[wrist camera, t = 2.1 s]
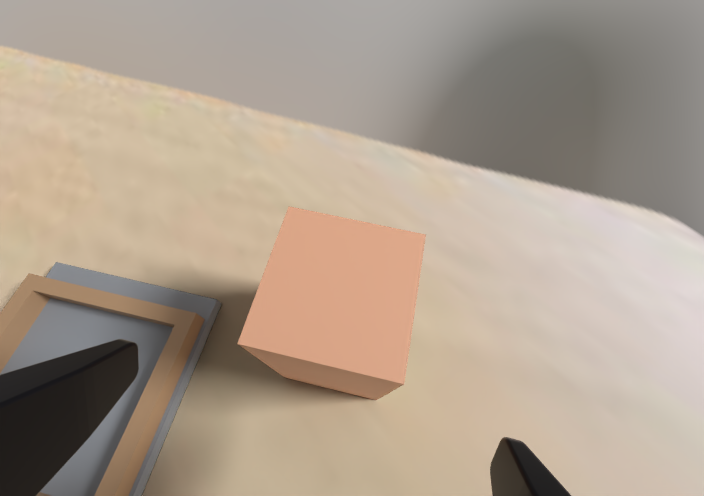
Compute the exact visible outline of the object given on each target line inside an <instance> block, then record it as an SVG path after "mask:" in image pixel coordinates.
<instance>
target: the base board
mask: <svg viewBox="0 0 704 496" xmlns="http://www.w3.org/2000/svg"><path fill="white" fill-rule="evenodd" d="M220 307H221V303H220V302H219V301H218V300H217V299H212V298H208V297H204V296H200V295H195V294H191V293H187V292H182V291H178V290H174V289H169V288H165V287H161V286H157V285H152V284H148V283H144V282H139V281H135V280H131V279H127V278H122V277H118V276H114V275H109V274H105V273H101V272H96V271H92V270H88V269H84V268H79V267H75V266H71V265H66V264H62V263H58V262H56V263H55V265H54V266H53V267H52V269H51V270H50V272H49V273H48V275H47V276H46V277H42V276H38V275H34V274H28V275H27V277H26V278H25V280H24V281H23V282H22V284H21V285H20V287H19V288H18V289H17V291H16V292H15V293H14V295H13V296H12V298H11V299H10V300H9V302H8V303H7V305H6V306H5V307H4V309H3V310H2V312H1V313H0V375H1V374H4V373H7V372H11V371H14V370H17V369H21V368H24V367H27V366H31V365H34V364H37V363H41V362H44V361H47V360H50V359H54V358H57V357H60V356H64V355H67V354H70V353H74V352H77V351H80V350H84V349H87V348H90V347H94V346H97V345H100V344H104V343H107V342H110V341H114V340H117V339H124V340H128V341H132V342H135V343H136V344H137V346H138V360H139V370H138V374H137V376H136V378H135V380H134V381H133V382H132V384H131V385H130V386H129V388H128V389H127V390H126V392H125V393H124V394H123V395H122V397H121V398H120V399H119V401H118V402H117V403H116V404H115V406H114V407H113V408H112V410H111V411H110V412H109V413H108V415H107V416H106V417H105V419H104V420H103V421H102V422H101V424H100V425H99V426H98V428H97V429H96V430H95V431H94V432H93V434H92V435H91V436H90V437H89V438H88V440H87V441H86V442H85V443H84V444H83V445H82V446H81V447H80V449H79V450H78V451H77V452H76V453H75V454H74V455H73V456H72V457H71V458H70V459H69V461H68V462H67V463H66V464H65V465H64V466H63V467H62V468H61V469H60V470H59V471H58V473H57V474H56V475H55V476H54V477H53V478H52V479H51V480H50V481H49V482H48V483H47V485H46V486H45V487H44V488H43V489H42V490H41V491H40V492H39V493H38V494H37V495H36V496H141V495H142V493H143V491H144V488H145V486H146V483H147V481H148V479H149V476H150V474H151V472H152V469H153V467H154V464H155V462H156V460H157V457H158V455H159V452H160V450H161V448H162V445H163V443H164V440H165V438H166V436H167V433H168V431H169V428H170V426H171V424H172V421H173V419H174V417H175V414H176V412H177V409H178V407H179V405H180V402H181V400H182V397H183V395H184V393H185V390H186V388H187V385H188V383H189V381H190V378H191V376H192V373H193V371H194V369H195V366H196V364H197V362H198V359H199V357H200V354H201V352H202V350H203V347H204V345H205V342H206V340H207V338H208V335H209V333H210V330H211V328H212V326H213V323H214V321H215V318H216V316H217V314H218V311H219V309H220Z"/></svg>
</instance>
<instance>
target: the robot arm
mask: <svg viewBox="0 0 704 496" xmlns="http://www.w3.org/2000/svg"><path fill="white" fill-rule="evenodd" d="M138 370H139V360H138V346H137V344H136V343H135V342H132V341H128V340H124V339H117V340H114V341H110V342H107V343H104V344H100V345H97V346H94V347H90V348H87V349H84V350H80V351H77V352H74V353H70V354H67V355H64V356H60V357H57V358H54V359H50V360H47V361H44V362H41V363H37V364H34V365H31V366H27V367H24V368H21V369H17V370H14V371H11V372H7V373H4V374H1V375H0V496H36V495H37V494H38V493H39V492H40V491H41V490H42V489H43V488H44V487H45V486H46V485H47V483H48V482H49V481H50V480H51V479H52V478H53V477H54V476H55V475H56V474H57V473H58V471H59V470H60V469H61V468H62V467H63V466H64V465H65V464H66V463H67V462H68V461H69V459H70V458H71V457H72V456H73V455H74V454H75V453H76V452H77V451H78V450H79V449H80V447H81V446H82V445H83V444H84V443H85V442H86V441H87V440H88V438H89V437H90V436H91V435H92V434H93V432H94V431H95V430H96V429H97V428H98V426H99V425H100V424H101V422H102V421H103V420H104V419H105V417H106V416H107V415H108V413H109V412H110V411H111V410H112V408H113V407H114V406H115V404H116V403H117V402H118V401H119V399H120V398H121V397H122V395H123V394H124V393H125V392H126V390H127V389H128V388H129V386H130V385H131V384H132V382H133V381H134V380H135V378H136V376H137V374H138ZM490 476H491V485H492V494H493V496H571V495H570V494H569V493H568V491H567V490H566V489H565V488H564V487H563V486H562V485H561V484H560V483H559V481H558V480H557V479H556V478H555V477H554V476H553V475H552V474H551V472H550V471H549V470H548V469H547V468H546V467H545V466H544V465H543V464H542V462H541V461H540V460H539V459H538V458H537V457H536V456H535V455H534V453H533V452H532V451H531V450H530V449H529V448H528V447H527V446H526V445H525V444H524V443H523V442H522V441H520V440H516V439H512V438H508V437H504V438H502V439H501V441H500V443H499V445H498V448H497V450H496V453H495V455H494V457H493V460H492V462H491V467H490Z"/></svg>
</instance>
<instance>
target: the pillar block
mask: <svg viewBox="0 0 704 496" xmlns="http://www.w3.org/2000/svg"><path fill="white" fill-rule="evenodd" d="M425 237H426V235H425V234H420V233H415V232H410V231H405V230H401V229H396V228H391V227H386V226H381V225H376V224H371V223H367V222H362V221H357V220H352V219H347V218H342V217H338V216H333V215H328V214H323V213H318V212H313V211H308V210H304V209H299V208H294V207H288V210H287V212H286V215H285V218H284V220H283V223H282V226H281V228H280V231H279V234H278V236H277V239H276V242H275V244H274V247H273V250H272V252H271V255H270V258H269V260H268V263H267V266H266V268H265V271H264V274H263V276H262V279H261V282H260V284H259V287H258V290H257V292H256V295H255V298H254V300H253V303H252V306H251V308H250V311H249V314H248V316H247V319H246V322H245V324H244V327H243V330H242V332H241V335H240V338H239V340H238V343H237V344H238V345H240V346H241V347H243V348H244V349H245V350H247V351H248V352H250V353H251V354H252V355H254V356H255V357H257V358H258V359H259V360H261V361H262V362H264V363H265V364H266V365H268V366H269V367H271V368H272V369H273V370H275V371H276V372H278V373H279V374H280V375H282V376H283V377H285V378H289V379H293V380H297V381H301V382H305V383H309V384H313V385H317V386H321V387H325V388H329V389H333V390H337V391H341V392H345V393H349V394H353V395H357V396H361V397H365V398H370V399H374V400H377V399H379V398H381V397H383V396H384V395H386V394H388V393H390V392H391V391H393V390H395V389H397V388H398V387H400V386H402V385H404V381H405V374H406V368H407V361H408V354H409V347H410V340H411V333H412V326H413V319H414V313H415V306H416V299H417V292H418V285H419V278H420V271H421V264H422V257H423V251H424V244H425Z"/></svg>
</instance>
